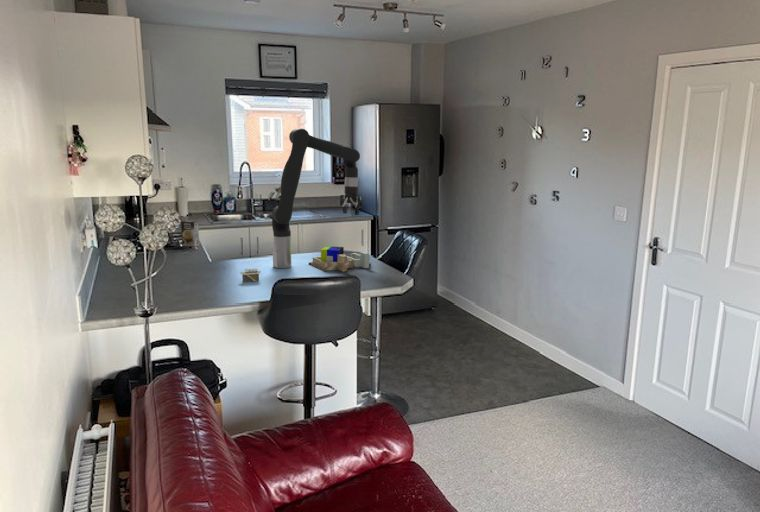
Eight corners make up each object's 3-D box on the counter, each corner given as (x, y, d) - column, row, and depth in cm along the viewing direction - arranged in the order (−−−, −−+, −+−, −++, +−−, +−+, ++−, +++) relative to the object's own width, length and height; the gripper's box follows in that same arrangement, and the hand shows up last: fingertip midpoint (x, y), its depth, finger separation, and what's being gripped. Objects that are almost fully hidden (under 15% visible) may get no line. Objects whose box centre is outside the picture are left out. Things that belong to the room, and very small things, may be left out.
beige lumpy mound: (331, 273, 294) (331, 258, 292) (312, 264, 313) (312, 250, 312) (358, 269, 302) (358, 255, 301) (338, 261, 321) (338, 247, 320)
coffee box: (181, 246, 362) (180, 221, 358) (186, 244, 368) (185, 219, 365) (195, 246, 360) (193, 221, 357) (199, 244, 367) (198, 220, 363)
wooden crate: (271, 283, 274) (271, 270, 273) (233, 286, 268) (233, 273, 267) (267, 278, 285) (267, 265, 284) (231, 280, 279) (230, 267, 278)
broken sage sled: (359, 268, 304) (359, 254, 302) (340, 261, 322) (340, 247, 321) (373, 267, 309) (374, 252, 307) (354, 259, 327) (354, 246, 325)
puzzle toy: (338, 268, 305) (338, 250, 302) (321, 267, 306) (320, 249, 304) (343, 264, 314) (343, 247, 312) (326, 263, 316) (326, 246, 314)
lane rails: (323, 271, 298) (323, 269, 298) (308, 264, 314) (308, 262, 314) (371, 265, 313) (371, 263, 313) (354, 259, 329) (354, 257, 329)
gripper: (337, 184, 317) (336, 213, 320) (357, 186, 308) (356, 215, 312) (345, 184, 323) (345, 212, 326) (365, 185, 314) (364, 214, 318)
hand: (350, 214), depth 319 cm, fingers open, 8 cm apart
